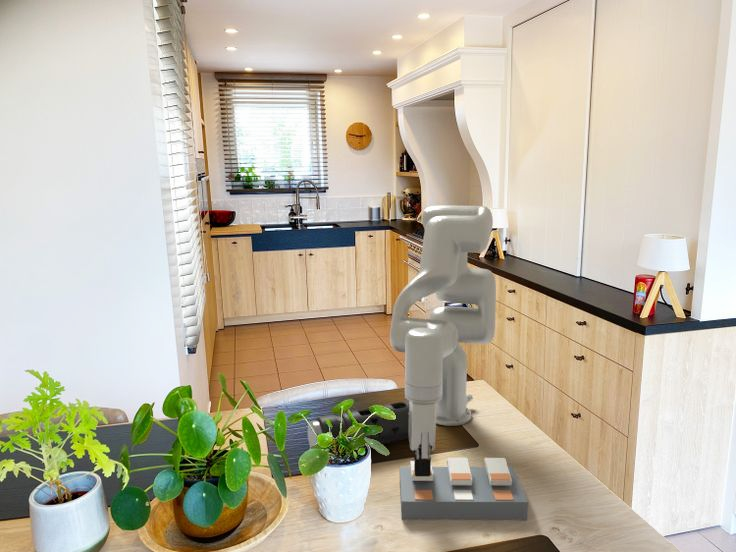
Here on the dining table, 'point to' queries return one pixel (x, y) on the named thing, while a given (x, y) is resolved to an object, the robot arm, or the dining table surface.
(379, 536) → the dining table surface
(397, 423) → the muzzle brake
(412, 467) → the switch
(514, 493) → the console
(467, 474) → the switch
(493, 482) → the switch
